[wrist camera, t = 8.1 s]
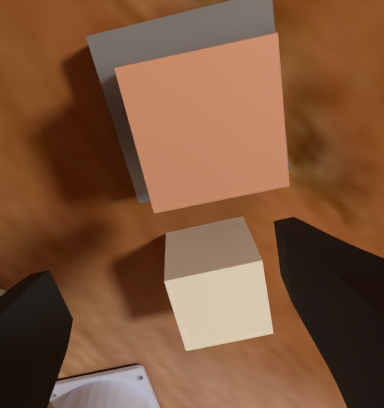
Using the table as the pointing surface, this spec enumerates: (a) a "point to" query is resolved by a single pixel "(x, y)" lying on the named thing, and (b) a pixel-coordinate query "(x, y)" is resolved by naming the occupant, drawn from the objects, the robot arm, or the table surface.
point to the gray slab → (166, 46)
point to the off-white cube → (216, 284)
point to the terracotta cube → (208, 122)
